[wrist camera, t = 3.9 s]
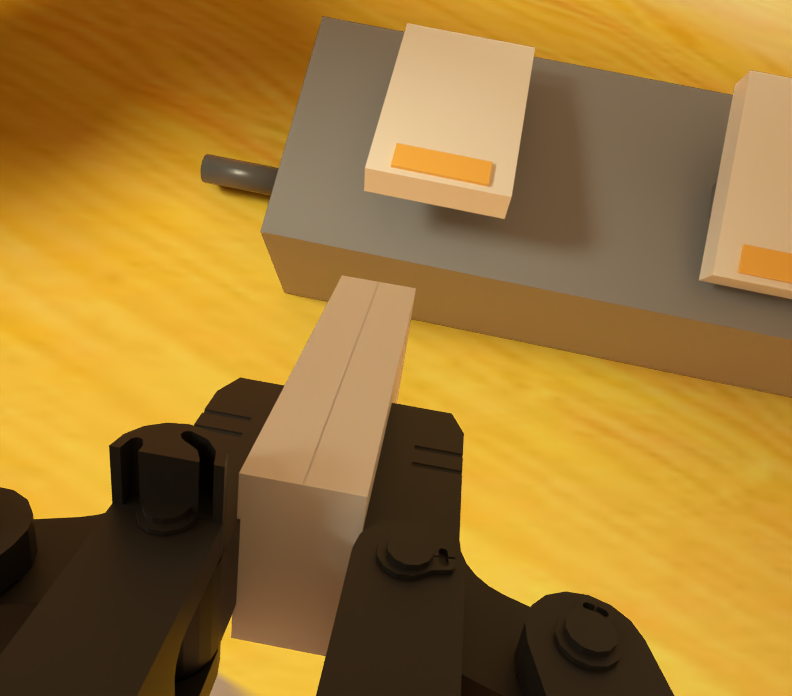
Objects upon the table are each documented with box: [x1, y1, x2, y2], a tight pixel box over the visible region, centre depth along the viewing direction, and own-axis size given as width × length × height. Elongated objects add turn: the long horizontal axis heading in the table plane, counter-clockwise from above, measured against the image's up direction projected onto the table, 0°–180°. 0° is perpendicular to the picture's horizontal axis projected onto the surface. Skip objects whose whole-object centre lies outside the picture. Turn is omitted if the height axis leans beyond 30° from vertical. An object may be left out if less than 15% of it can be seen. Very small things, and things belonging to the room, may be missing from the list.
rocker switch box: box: [201, 16, 792, 398], centre depth 36 cm, size 36×12×9 cm, turn 78°
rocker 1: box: [364, 23, 535, 219], centre depth 30 cm, size 6×9×2 cm, turn 168°
